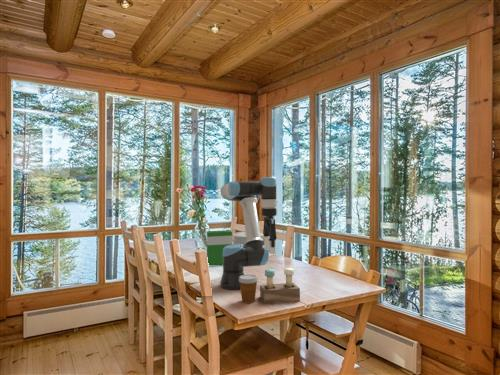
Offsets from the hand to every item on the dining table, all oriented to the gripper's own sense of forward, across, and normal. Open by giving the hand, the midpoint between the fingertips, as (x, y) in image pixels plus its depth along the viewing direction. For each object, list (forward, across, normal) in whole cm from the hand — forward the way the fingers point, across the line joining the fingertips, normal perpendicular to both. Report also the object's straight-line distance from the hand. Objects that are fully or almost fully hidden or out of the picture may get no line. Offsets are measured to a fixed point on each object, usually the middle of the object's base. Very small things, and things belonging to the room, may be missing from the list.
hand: (269, 251), depth 171 cm
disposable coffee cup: (+24, 0, +11) cm, 27 cm away
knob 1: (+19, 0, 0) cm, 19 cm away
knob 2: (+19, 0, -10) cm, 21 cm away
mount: (+24, 0, -5) cm, 25 cm away
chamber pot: (+24, +112, -9) cm, 115 cm away
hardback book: (+24, +82, +18) cm, 87 cm away
